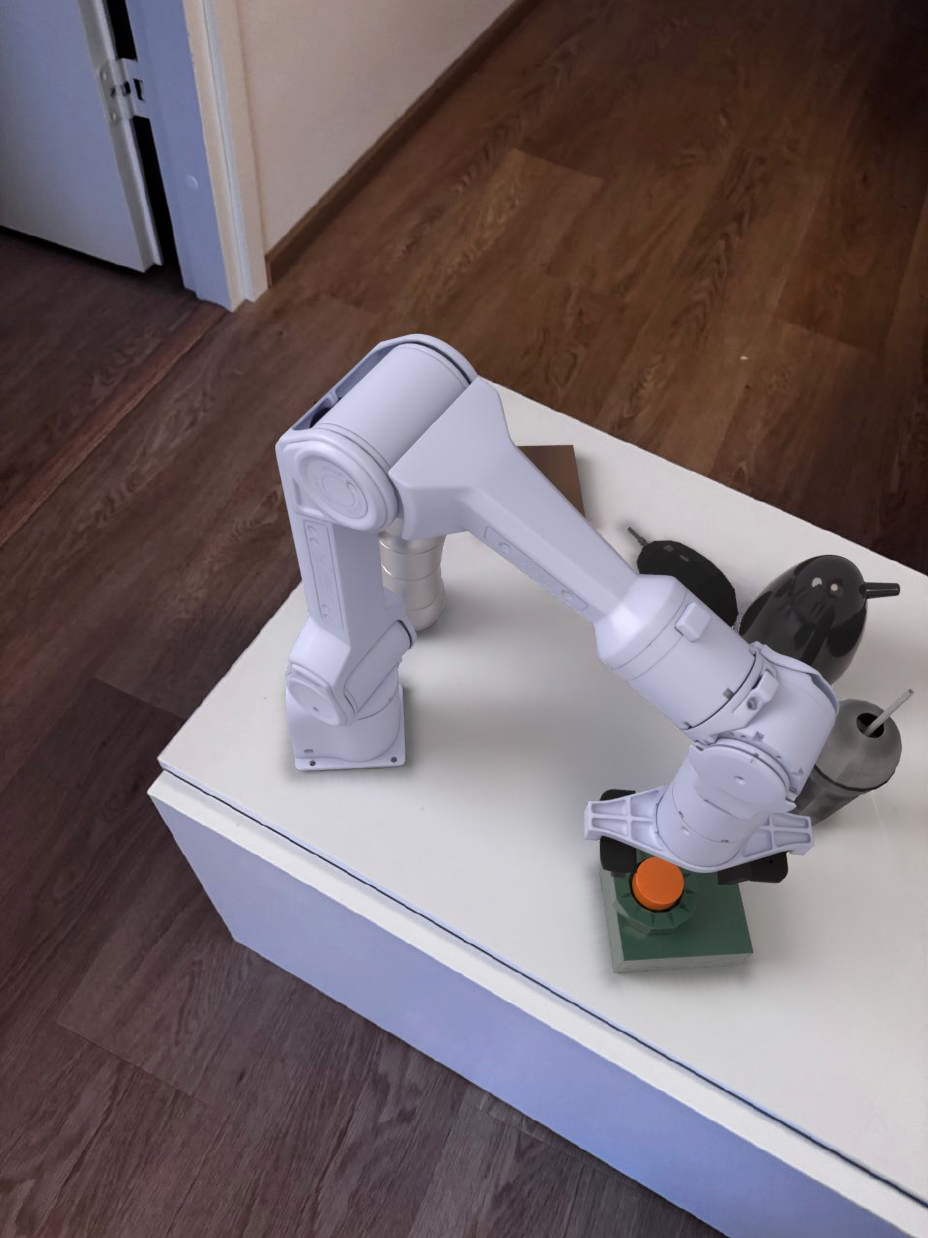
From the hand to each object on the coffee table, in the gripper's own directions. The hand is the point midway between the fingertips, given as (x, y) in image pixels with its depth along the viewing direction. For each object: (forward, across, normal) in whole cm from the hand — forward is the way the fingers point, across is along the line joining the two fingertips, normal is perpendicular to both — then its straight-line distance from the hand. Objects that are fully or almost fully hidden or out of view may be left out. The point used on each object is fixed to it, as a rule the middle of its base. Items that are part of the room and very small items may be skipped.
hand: (668, 867), depth 70 cm
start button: (+5, 0, 0) cm, 5 cm away
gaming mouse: (+10, -5, -33) cm, 35 cm away
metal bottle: (+10, +21, -27) cm, 36 cm away
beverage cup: (+10, -14, -10) cm, 20 cm away
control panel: (+10, +11, -41) cm, 44 cm away
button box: (+10, -2, +1) cm, 10 cm away
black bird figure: (+10, -14, -24) cm, 30 cm away
